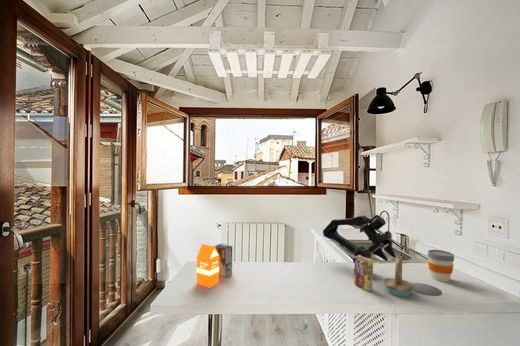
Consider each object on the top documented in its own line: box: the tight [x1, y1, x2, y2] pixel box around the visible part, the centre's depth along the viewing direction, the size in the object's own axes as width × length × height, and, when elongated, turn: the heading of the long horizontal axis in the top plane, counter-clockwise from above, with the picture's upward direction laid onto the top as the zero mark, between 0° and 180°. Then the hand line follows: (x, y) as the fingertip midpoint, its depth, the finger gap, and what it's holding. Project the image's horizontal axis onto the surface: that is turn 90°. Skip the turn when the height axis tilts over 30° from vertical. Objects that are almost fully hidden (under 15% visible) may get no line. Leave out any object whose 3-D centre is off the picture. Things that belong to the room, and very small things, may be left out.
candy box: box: [353, 255, 374, 291], centre depth 141 cm, size 9×4×15 cm, turn 26°
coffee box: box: [213, 243, 233, 278], centre depth 154 cm, size 9×6×16 cm
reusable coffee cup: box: [427, 249, 455, 283], centre depth 153 cm, size 12×12×15 cm
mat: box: [410, 282, 443, 297], centre depth 139 cm, size 15×15×1 cm
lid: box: [383, 258, 413, 291], centre depth 136 cm, size 13×13×13 cm
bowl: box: [385, 285, 412, 298], centre depth 136 cm, size 10×10×4 cm
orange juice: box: [196, 243, 220, 288], centre depth 142 cm, size 8×9×20 cm
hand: (391, 258), depth 147 cm, fingers open, 9 cm apart
